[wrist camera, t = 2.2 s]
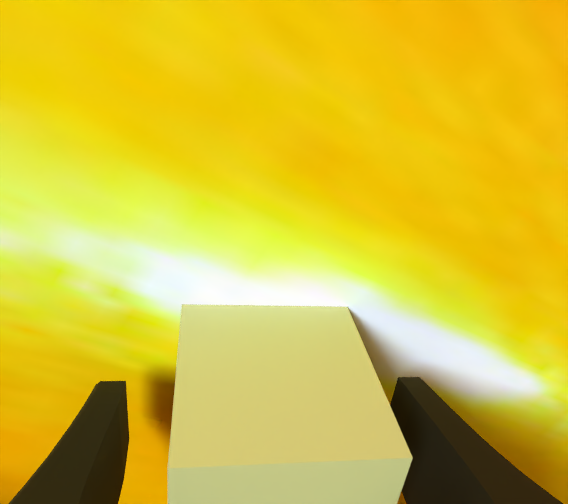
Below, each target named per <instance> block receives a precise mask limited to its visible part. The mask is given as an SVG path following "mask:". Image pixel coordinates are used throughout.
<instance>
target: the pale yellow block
mask: <svg viewBox="0 0 568 504" xmlns="http://www.w3.org/2000/svg"><path fill="white" fill-rule="evenodd" d="M412 459H413V457H412V455H411V453H410V450H409V448H408V446H407V444H406V441H405V439H404V437H403V434H402V432H401V430H400V427H399V425H398V423H397V420H396V418H395V416H394V413H393V411H392V409H391V406H390V404H389V402H388V400H387V397H386V395H385V393H384V390H383V388H382V386H381V383H380V381H379V379H378V376H377V374H376V372H375V369H374V367H373V365H372V362H371V360H370V358H369V356H368V353H367V351H366V349H365V346H364V344H363V342H362V339H361V337H360V335H359V332H358V330H357V328H356V325H355V323H354V321H353V318H352V316H351V314H350V312H349V309H348V307H325V306H255V305H185V304H182V309H181V321H180V332H179V344H178V355H177V366H176V378H175V389H174V401H173V412H172V424H171V435H170V447H169V458H168V504H397V502H398V499H399V496H400V494H401V491H402V488H403V485H404V482H405V479H406V476H407V473H408V470H409V467H410V464H411V462H412Z"/></svg>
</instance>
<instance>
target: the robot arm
mask: <svg viewBox="0 0 568 504" xmlns="http://www.w3.org/2000/svg"><path fill="white" fill-rule="evenodd" d="M390 406H391V409H392V411H393V413H394V416H395V418H396V420H397V423H398V425H399V427H400V430H401V432H402V434H403V437H404V439H405V441H406V444H407V446H408V448H409V450H410V453H411V455H412V457H413V459H412V462H411V464H410V467H409V470H408V473H407V476H406V479H405V482H404V485H403V488H402V493H403V495H404V498H405V500H406V503H407V504H563V503H562V502H560V501H559V500H557V499H556V498H555V497H553V496H552V495H551V494H549V493H548V492H547V491H545V490H544V489H543V488H541V487H540V486H539V485H537V484H536V483H535V482H533V481H532V480H531V479H529V478H528V477H527V476H526V475H524V474H523V473H522V472H521V471H519V470H518V469H517V468H516V467H515V466H513V465H512V464H511V463H510V462H509V461H508V460H506V459H505V458H504V457H503V456H502V455H501V454H499V453H498V452H497V451H496V450H495V449H494V448H493V447H491V446H490V445H489V444H488V443H487V442H486V441H485V440H484V439H483V438H482V437H480V436H479V435H478V434H477V433H476V432H475V431H474V430H473V429H472V428H471V427H470V426H469V425H468V424H467V423H466V422H465V421H463V420H462V419H461V418H460V417H459V416H458V415H457V414H456V413H455V412H454V411H453V410H452V409H451V408H450V407H449V406H448V405H447V404H446V403H445V402H444V401H443V400H442V399H441V398H440V397H439V396H438V395H437V394H436V393H435V392H434V391H433V390H432V389H431V388H430V387H429V386H428V385H427V384H426V383H425V382H424V381H423V380H421V379H420V378H419V377H402V378H398V380H397V384H396V387H395V391H394V394H393V397H392V401H391V404H390ZM128 444H129V428H128V411H127V395H126V381H100V382H99V383H98V384H96V385H95V387H94V389H93V391H92V392H91V394H90V396H89V397H88V399H87V401H86V402H85V404H84V406H83V407H82V409H81V410H80V412H79V413H78V415H77V416H76V418H75V419H74V421H73V422H72V424H71V425H70V427H69V428H68V429H67V431H66V432H65V434H64V435H63V436H62V438H61V439H60V440H59V442H58V443H57V445H56V446H55V447H54V449H53V450H52V451H51V453H50V454H49V455H48V457H47V458H46V459H45V461H44V462H43V463H42V464H41V465H40V467H39V468H38V469H37V470H36V472H35V473H34V474H33V475H32V477H31V478H30V479H29V480H28V482H27V483H26V484H25V485H24V486H23V488H22V489H21V490H20V491H19V492H18V493H17V495H16V496H15V497H14V498H13V499H12V500H11V502H10V503H9V504H118V501H119V497H120V493H121V489H122V484H123V480H124V473H125V466H126V459H127V451H128Z"/></svg>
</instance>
